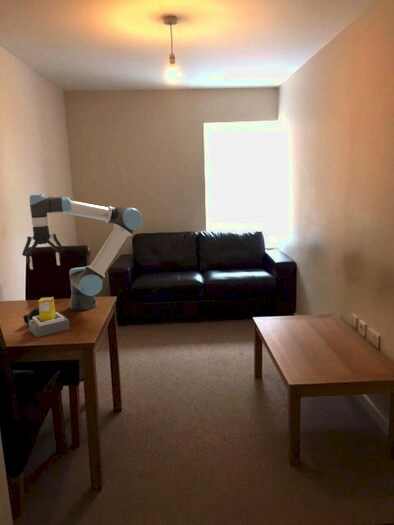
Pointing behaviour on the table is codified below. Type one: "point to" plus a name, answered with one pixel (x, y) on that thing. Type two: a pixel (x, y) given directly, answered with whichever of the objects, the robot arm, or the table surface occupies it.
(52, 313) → the supplement box
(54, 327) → the grey tray
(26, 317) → the night vision scope
